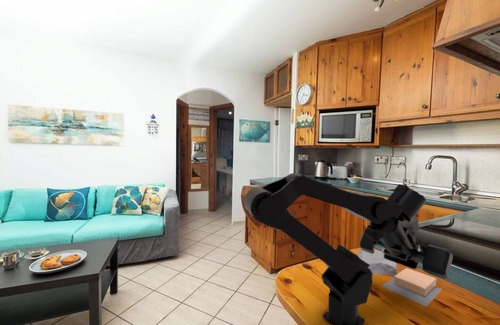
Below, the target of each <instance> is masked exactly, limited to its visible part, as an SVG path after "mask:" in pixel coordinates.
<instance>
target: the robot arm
mask: <svg viewBox="0 0 500 325" xmlns="http://www.w3.org/2000/svg"><path fill="white" fill-rule="evenodd" d="M302 196H305V197H306V196H307V197H309V198H312V199H316V200H318V201H322V202H324V203H328V204H330V205H334V206H337V207H340V208H342V209H343V210H345V211H346V212H348V213H350V214H351V215H353V216H355V217H357V218H360V219H363V220H365V221H368V222H369V224H368V225H367V226H366V227H365V229H364V230H363V233H362V235H361V237H360V239H359V242H358V246H359V248H360V249H361V250H363V251H366V252H369V253H371V254H373V253H374V252H375V251H376V250H375V247H376V246H379V247H382V249H381V252H382V253H383V254H384V258H385V259H387V260H390V261H393V262H395V263H396V264H398V265H402V266H404V267H406V268H408V269H411V270H417V269H418V267H419V264H422V270H423V271H424V273H427V275H430V276H431V275H432V276H434V277H435V278H440V279H442V280H445V279H448V278H449V274H450V270H451V266H452V263H453V262H452V261H453V259H454V258H453V257H454V255H453V253H452V251H451V250H450V249H449V248H445V247H442V246H438V245H434V244H428V245H427V247H426V250H425V252H423V247H422V246H421V245H420V244H418V243H416V242H417V238H416V234H417V233H418V231H419V230H420V224H419V220H418V217H417V216H416V215H417V214H418V212H420V210H421V209H422V208H423V206H424V205H425V204H426V203H427V198H426V197H425V196H424V195H423V194H421V193H420V192H418V191H416V190H414V189H412V188H409V186H408V185H407V184H399V183H398V185H397V186H396V187H395V189H394V191H393V192H392V193H391V194H390V195H389V197H388V198H385V197H382V196H377V195H373V194H369V193H365V192H359V191H351V190H350V191H349V190H348V191H347V190H345V189H342V188H339V187H336V186H333V185H331V184H327V183H325V182H321V181H319V180H316V179H313V178H310V177H308V176H306V175H305V174H301V173H296V172H293V173H289V174H288V175H286V176H283V177H282V178H280V179H278V180H275V181H273V182H270V183H268V184H265V185H264V186H262V187H259V186H257V187H252V188H251V189H249V190H248V191H247V192H246V194H245V195H244V199H243V203H244V204H243V206H244V208H245V209H246V210H247V211H248V213H249V214H250V215H251V216H252V217H253V218H254V219H255V220H256V221H257V222H259V223H261V224H263V225H266V226H268V227H270V228H272V229H275V230H277V231H281V232H283V233H284V234H286V235H287V236H288V237H289V238H291V239H292V240H294V241H295V242H296V243H297V244H299V245H300V246H302V247H303V248H305V249H306V250H307V251H309V253H311V254H312V255H314V256H315V257H316V258H317V259H319V260H320V261H321V262H323V263H324V264H325V266H326V267H327V268H326V269H325V270H324V271H323V273H322V274H321V275H320V277H321V280H322V283H323V284H324V286H326V287H327V288H328V289H329V293H328V295H327V296H328V311H326V312H324V313H323V314H322V318H323V319H324V320H325V321H326V322H328V323H329V324H331V325H364V324H365V323H366V319H365V318H364V317H361V316H360V315H359V305H365V304H366V303H367V301H368V298H369V294H370V291H371V289H372V285H373V275H374V274H373V273H372V271H371V270H370V269H369V268H368V267H369V266H370V265H369V264H368V263H366V262H365V261H363V260H361V259H360V258H359V257H358V256H357V253H354V252H353V251H351V250H350V249H349V248H346V247H345V246H343V245H342V244H341V243H338V245H337V247H336V248H334V247H333V246H331V244H329V243H328V242H326V241H325V240H324V239H323V238H321V237H320V236H319V235H318V234H316V233H315V232H314V231H313V230H311V229H310V228H308V227H307V226H306V225H305V224H303V223H302V222H300V220H298V219H296V218H295V217H294V216H293V214H292V213H291V212H290V210H289V208H290V207H291V206H292V205H293V204H294V203H295V202H296V201H297V200H298V199H299V198H300V197H302ZM374 250H375V251H374Z"/></svg>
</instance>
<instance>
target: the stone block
mask: <svg viewBox="0 0 500 325" xmlns="http://www.w3.org/2000/svg"><path fill="white" fill-rule="evenodd" d="M373 250H374V251H375V252H374V253H373V254H371V253H369V252H366V251H363V250H362V249H361V250H359V251H357V252H356V255H357V256H358V257H359V258H360V259H361V260H363V261H365V262H366V263H368V264H369V265H370V266H369V267H368V268H369V269H370V270H371V271H372V273H373V275H382V276H383V275H386V276H391V277H394V276H396V275H397V274H398V266H397V263H395V262H393V261H390V260H387V259H385V258H384V254H383V253H382V250H381V251H380V250H375V249H373Z"/></svg>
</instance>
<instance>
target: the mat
mask: <svg viewBox="0 0 500 325" xmlns="http://www.w3.org/2000/svg"><path fill="white" fill-rule="evenodd" d="M381 287H383V288H384V289H387V290H389V291H391V292H393V293H396V294H397V295H400V296H402V297H404V298H406V299H408V300H411V301H413V302H415V303H418V304H420V305H422V306H424V307H428V306H429V305H430V303H432V302H433V300H435V298H436V297H437V296H439V294H440V293H441V292H442V291H443V289H442V288H440V287H436V286H435V287H434V288H433V289H432V290H431V291H430V292H429V293H428V294H427V295H426V296H422V295H420V294H417V293H415V292H413V291H410V290H408V289H406V288H403V287H401V286H399V285H396V284H394V277H393V278H391V279H390V280H388V281H386V282H385V284H382V286H381Z"/></svg>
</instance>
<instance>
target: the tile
mask: <svg viewBox="0 0 500 325" xmlns="http://www.w3.org/2000/svg"><path fill="white" fill-rule="evenodd" d="M393 278H394V284H396V285H399V286H401V287H403V288H406V289H408V290H410V291H413V292H415V293H417V294H420V295H422V296H426V295H427V294H428V293H429V292H430V291H431V290H432V289H433V288H434V287H436V286H437V277H433V276H431V275H429V274H425V273H423V272H420V271H417V270H415V269H412V268H409V267H406V268H404V269H403V270H401V271H400V272H397V275H396V276H393Z"/></svg>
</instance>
